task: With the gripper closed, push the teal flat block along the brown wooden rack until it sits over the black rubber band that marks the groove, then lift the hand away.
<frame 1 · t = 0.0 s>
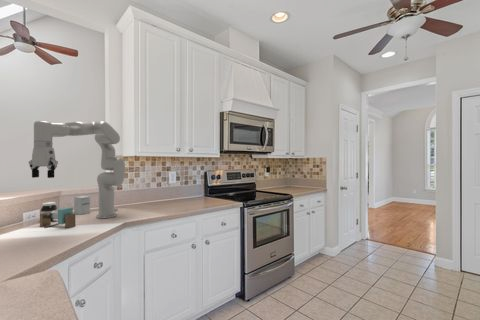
hand: (43, 177, 123), 31 cm above the countertop, tool pointing down, fingers open, 9 cm apart
supplement box: (82, 213, 176), on the countertop
brown wooden rack: (57, 226, 142), on the countertop
spread jar: (51, 220, 156), on the countertop
teal flat block: (65, 215, 141), point 7 cm above the countertop, slide at 0.0 cm
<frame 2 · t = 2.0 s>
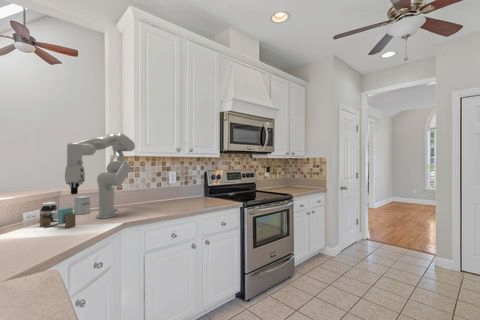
hand: (74, 194, 140), 20 cm above the countertop, tool pointing down, fingers closed
nothing on the countertop moved.
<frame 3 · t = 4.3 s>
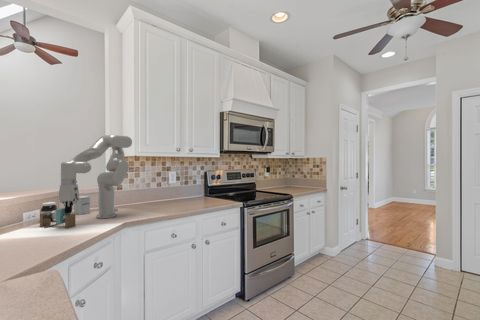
hand: (68, 212, 141), 9 cm above the countertop, tool pointing down, fingers closed
teal flat block: (63, 215, 141), point 7 cm above the countertop, slide at 1.4 cm, touching gripper
everything else where it was.
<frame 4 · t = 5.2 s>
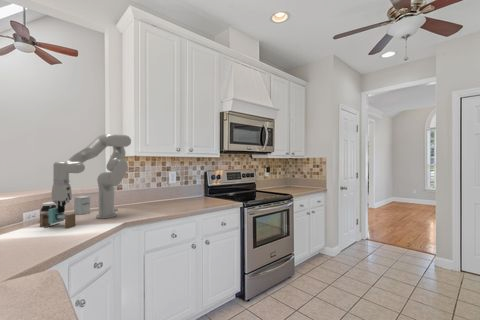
hand: (61, 212, 142), 9 cm above the countertop, tool pointing down, fingers closed
teal flat block: (56, 215, 142), point 7 cm above the countertop, slide at 6.6 cm, touching gripper
everything else where it was.
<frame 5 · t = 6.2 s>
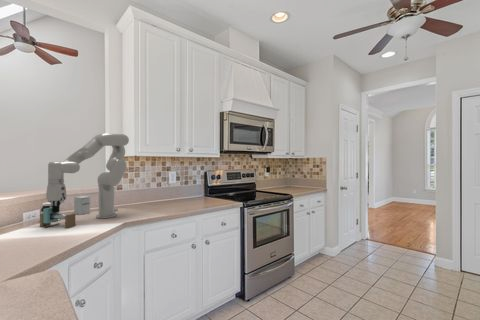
hand: (55, 212, 142), 9 cm above the countertop, tool pointing down, fingers closed
teal flat block: (51, 214, 143), point 7 cm above the countertop, slide at 10.4 cm, touching gripper
everything else where it was.
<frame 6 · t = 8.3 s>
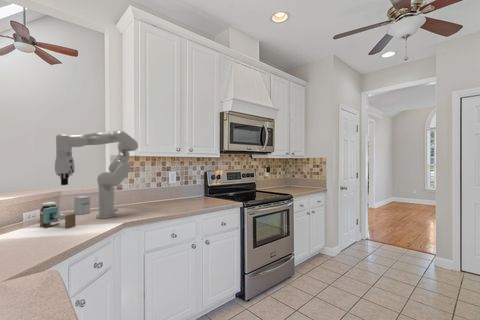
hand: (64, 184, 142), 25 cm above the countertop, tool pointing down, fingers closed
teal flat block: (50, 214, 143), point 7 cm above the countertop, slide at 10.5 cm
everything else where it was.
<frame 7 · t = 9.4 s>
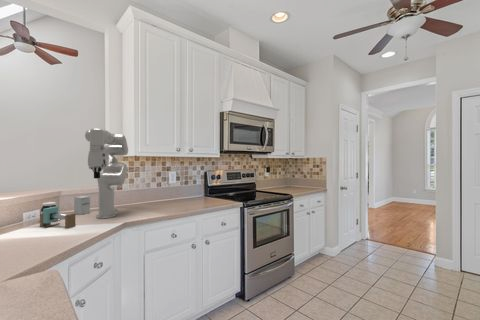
hand: (96, 178, 145), 29 cm above the countertop, tool pointing down, fingers closed
nothing on the countertop moved.
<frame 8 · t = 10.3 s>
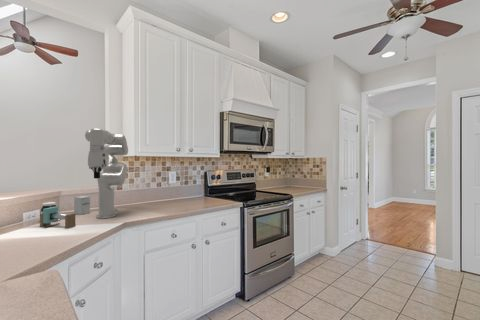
hand: (96, 178, 145), 29 cm above the countertop, tool pointing down, fingers closed
nothing on the countertop moved.
at the end: teal flat block slide at 10.5 cm; teal flat block touching nothing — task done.
